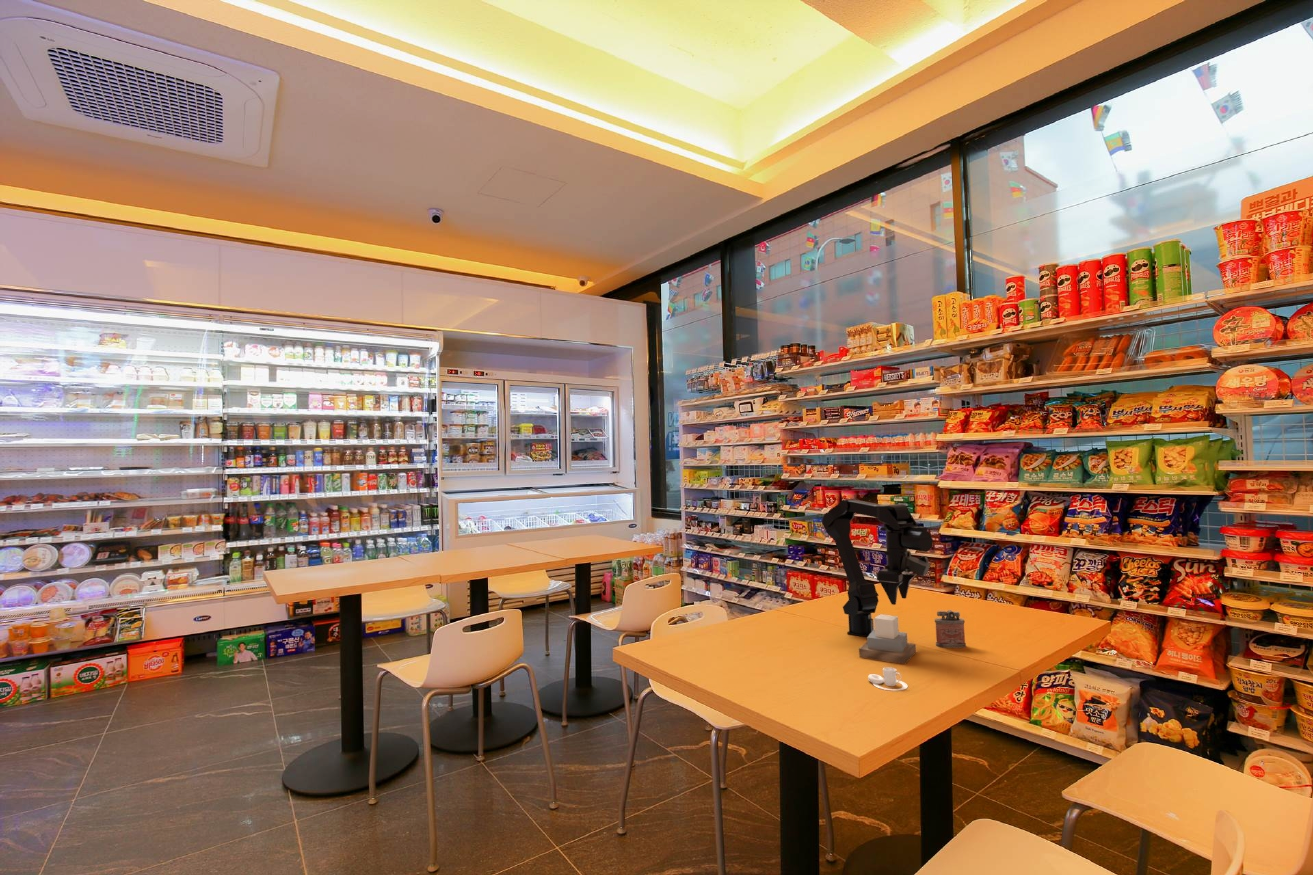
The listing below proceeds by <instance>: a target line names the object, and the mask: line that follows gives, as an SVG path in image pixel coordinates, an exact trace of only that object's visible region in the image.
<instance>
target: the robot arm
mask: <svg viewBox="0 0 1313 875" xmlns="http://www.w3.org/2000/svg"><path fill="white" fill-rule="evenodd" d="M855 514H859V515H862V516H867V517H872V518H875V519H877V520H878V521H879V522H880V523H883V524H884V525H882V526H881V527H880V528H879V531H881V532H885V544H886V545H885V546H886V550H885V551H884V556H886V564H885V565H884V568H882V569H880V570H878V571H877V573H876V581H878V583H879V584H880V585H881V587H882V588H883V590H884V592H885V593H886V596H887V598H888V600H889V602H890V604H891V605H892V606H895V605H897V599H898V598H897V597H898V591H899V594H900V596H901V598H902V599H905V600H906V599H907V596H908V591H909V587H910V584H911V581H912V580H913V578H915V577H916V576H920V577H924V576H926V575H927V573H928V570H929V569H930V568H931V566H930V565H931V564H930V562H929V557H927V556H925V555H922V556H920V557H914V556H912V552H911V551H916V552H924V553H927V552H928V551H930V550H931V549H932V546H933V543H934V542H933V541H934V539H933V538H932V534H931V533H930V532H929V531H928V527H927V526H919V525H918V523H917V522H916V520H915V519H914V516H912V514H911V512H910V511H909V508H908V506H907V505H906V504H903V503H899V504H898V503H894V504H880V503H876V502H869V501H863V500H859V499H856V498H845V499H842V500H840V502H839V503H838V504H837V505H835V506H834V507H832V508H830V509H829V510H828V511H827V512H826V513H825V514H824V515H823V516H822V519H821V522H822V523H821V524H822V526H823V528H824V530H825V532H826V534H827V535H828V536H830V538H831V539H832V540H833V541H834V543H835V546H836V549H837V551H838V555H839V558H840V561H841V563H842V566H843V569H844V573H845V575H846V579H847V581H848V589H847V596H848V600H847V601H846V603H845V604H844V605H842V608H843V612H844V614H845V615H848V631H847V632H846V633H847V635H852V636H859V637H865V638H867V637H868V636H869V635H870V633H871V632H872V631H873V630H875V626H874V618H872V614H875V613H876V610H877V606H878V603H879V597H878V596H879V593H878V592H877V590H876V586H875V584H874V582H870V583H869V581H868V580H866V579H865V575H864V573H863V570H862V568H861V565H860V562H859V559H858V555H857V554H856V551H855V548H854V545H853V543H852V542H853V541H852V539H851V536H850V534H851V530H852V526H851V525H852V524H851V521H852V520H853V519H854V518H855V516H856V515H855Z"/></svg>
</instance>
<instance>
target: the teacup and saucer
mask: <svg viewBox="0 0 1313 875" xmlns="http://www.w3.org/2000/svg"><path fill="white" fill-rule="evenodd" d="M897 671H898V670H897V668H894V667H891V666H886V667H883V668H882V674H883V676H881V675H879V674H874V673H872V674H871V673H870V674H869V675H868V676H867V679H868V681H869V682H871V683H872V685H873V686H874V687H876V688H878V689H880V690H883V691H892V692H893V691H894V692H895V691H896V692H897V691H904V690H907V689H908V687H909V686H908V684H907V683H906V682H904V681H902V680H901V679H902V675H901V673H900V672H897ZM897 675H898V676H899V679H897ZM883 683H884V684H885V686H888V687H894V686H896V685H898V684H901V685H902V687H900V688H886V687H882V686H881V685H882V684H883Z"/></svg>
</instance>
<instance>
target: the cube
mask: <svg viewBox="0 0 1313 875" xmlns="http://www.w3.org/2000/svg"><path fill="white" fill-rule="evenodd" d="M873 626H874V630H875V636H876V637H883V638H890V639H894V638H895V637H896V636H898V635H899V632H900V631H899V616H897V615H889V614H878V615H876V616H875V617H874V618H873Z"/></svg>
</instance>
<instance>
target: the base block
mask: <svg viewBox="0 0 1313 875" xmlns="http://www.w3.org/2000/svg"><path fill="white" fill-rule="evenodd" d="M916 649H917V647H916V643H910V642H907V645H906V647H905V649H904V651H903V652H902V653H901V652H893V651H884V650H876V649H868V646H867V642H865V643H864V644H863V645H862V646H860V647H859V649H858V654H859V655H858V657H859V658H863V659H868V660H869V659H870V660H875V661H881V662H887V663H895V664H902V665H906V664H907V663H908V661H910V660H911V658H912V657H913V656H914V655H915V654H916V653H917V650H916Z"/></svg>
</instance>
